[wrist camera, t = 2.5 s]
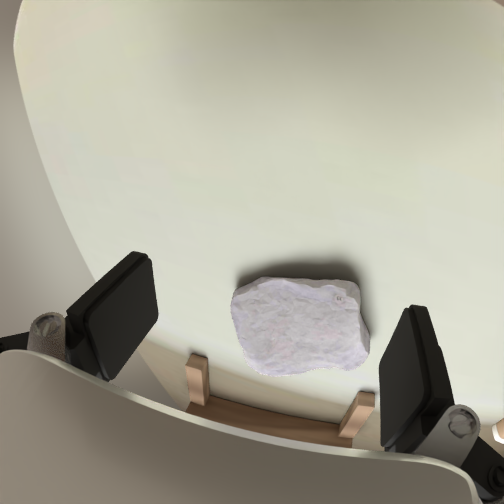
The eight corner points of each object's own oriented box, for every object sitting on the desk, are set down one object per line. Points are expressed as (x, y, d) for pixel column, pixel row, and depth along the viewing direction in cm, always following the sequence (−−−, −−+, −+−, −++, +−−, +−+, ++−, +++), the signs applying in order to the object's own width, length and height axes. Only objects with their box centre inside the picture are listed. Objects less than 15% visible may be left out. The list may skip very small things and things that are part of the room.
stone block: (234, 273, 30) (260, 358, 32) (214, 291, 26) (246, 385, 27) (356, 250, 26) (371, 345, 28) (358, 267, 21) (373, 374, 23)
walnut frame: (192, 353, 35) (174, 384, 30) (374, 393, 30) (373, 429, 26) (197, 398, 40) (183, 425, 35) (349, 433, 35) (345, 463, 31)
